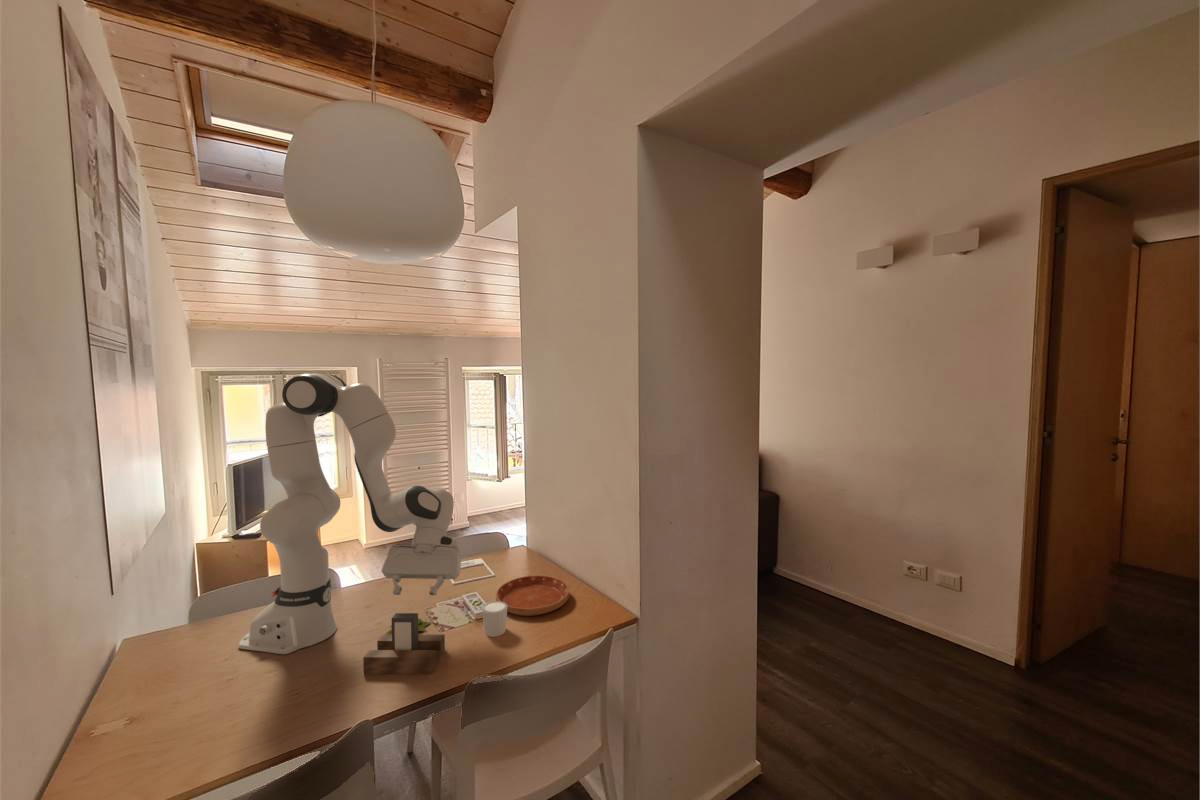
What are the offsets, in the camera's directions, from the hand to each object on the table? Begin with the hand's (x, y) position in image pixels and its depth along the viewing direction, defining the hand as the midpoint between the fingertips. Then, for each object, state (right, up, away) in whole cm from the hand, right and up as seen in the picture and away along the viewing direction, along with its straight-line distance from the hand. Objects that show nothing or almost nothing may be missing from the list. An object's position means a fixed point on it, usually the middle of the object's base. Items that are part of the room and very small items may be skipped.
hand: (414, 594), depth 123 cm
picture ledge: (0, -14, -6) cm, 15 cm away
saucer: (+27, -13, +26) cm, 40 cm away
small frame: (0, -13, -6) cm, 14 cm away
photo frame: (0, -12, +49) cm, 50 cm away
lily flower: (-5, -14, +9) cm, 18 cm away
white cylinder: (+19, -14, +8) cm, 25 cm away
